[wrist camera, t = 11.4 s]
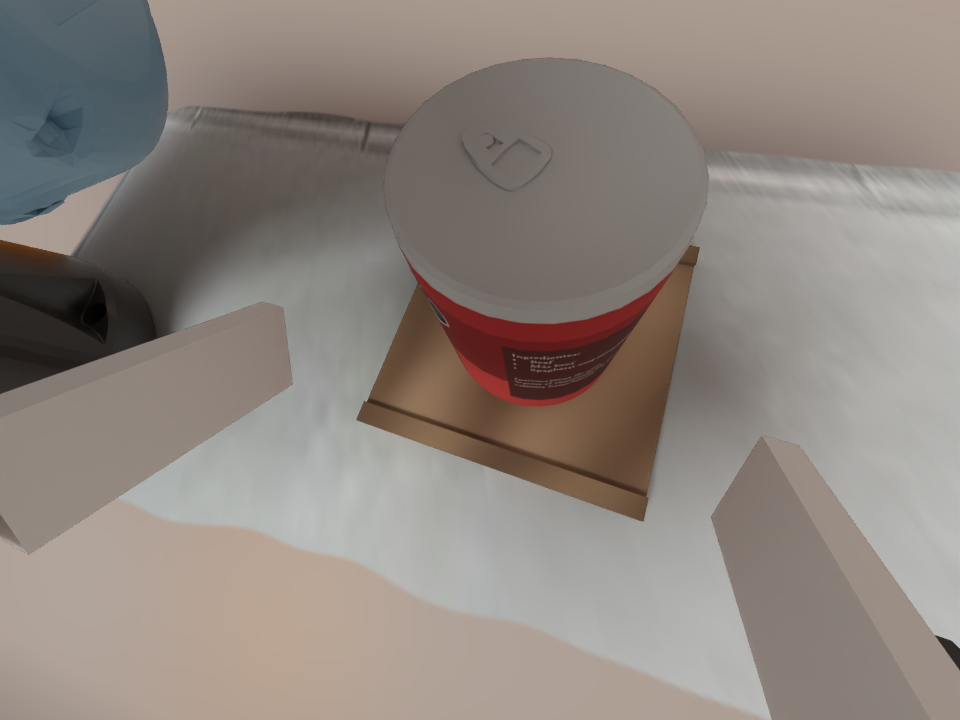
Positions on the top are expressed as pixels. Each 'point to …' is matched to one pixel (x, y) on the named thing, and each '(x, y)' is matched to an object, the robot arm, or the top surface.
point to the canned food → (544, 217)
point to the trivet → (540, 430)
